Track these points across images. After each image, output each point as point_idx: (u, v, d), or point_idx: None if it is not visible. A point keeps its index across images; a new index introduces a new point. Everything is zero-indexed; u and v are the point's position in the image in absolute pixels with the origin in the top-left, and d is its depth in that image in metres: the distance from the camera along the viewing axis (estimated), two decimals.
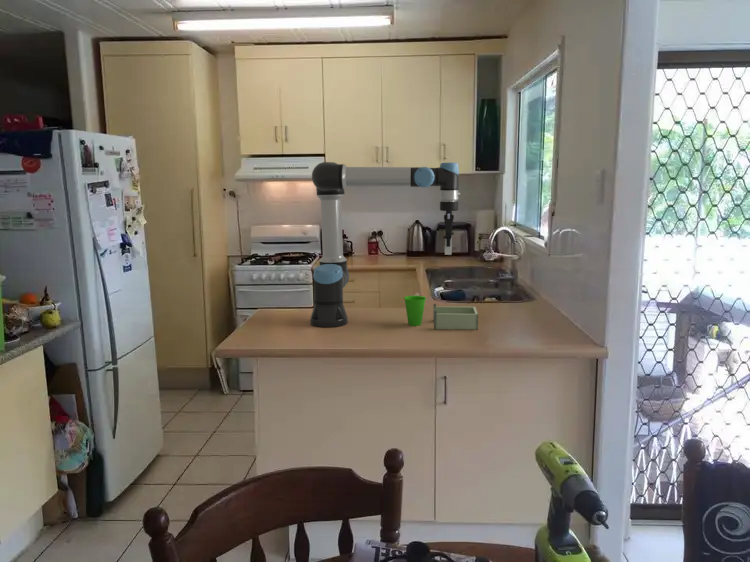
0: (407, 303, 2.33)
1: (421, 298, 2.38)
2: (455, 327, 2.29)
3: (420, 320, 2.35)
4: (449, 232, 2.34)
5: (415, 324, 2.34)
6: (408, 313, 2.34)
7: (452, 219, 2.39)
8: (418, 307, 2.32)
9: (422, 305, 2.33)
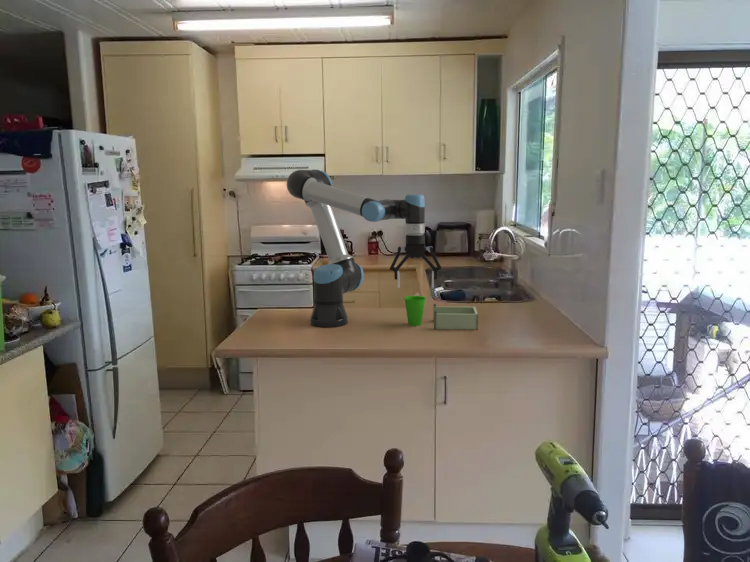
0: (407, 303, 2.33)
1: (421, 298, 2.38)
2: (455, 327, 2.29)
3: (420, 320, 2.35)
4: None
5: (415, 324, 2.34)
6: (408, 313, 2.34)
7: (407, 253, 2.31)
8: (418, 307, 2.32)
9: (422, 305, 2.33)
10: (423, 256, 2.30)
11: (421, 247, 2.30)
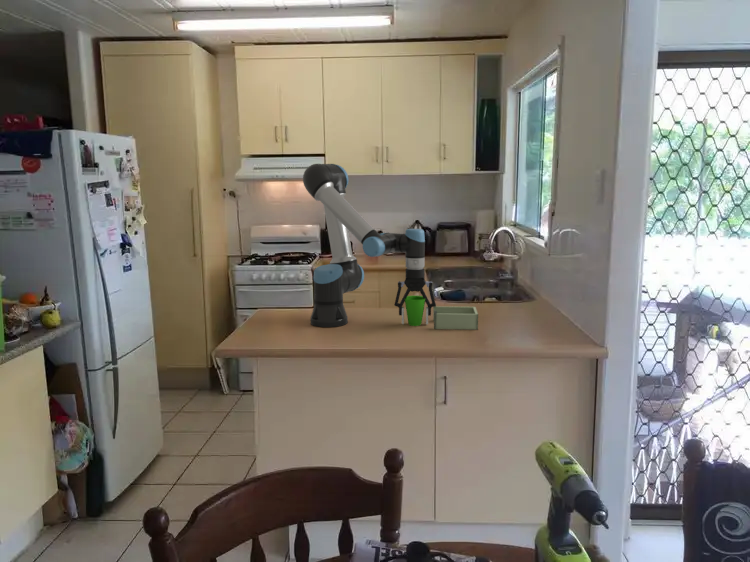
0: (407, 303, 2.33)
1: (421, 298, 2.38)
2: (455, 327, 2.29)
3: (420, 320, 2.35)
4: (395, 301, 2.35)
5: (415, 324, 2.34)
6: (408, 313, 2.34)
7: (408, 287, 2.33)
8: (418, 307, 2.32)
9: (422, 305, 2.33)
10: (421, 291, 2.33)
11: (421, 280, 2.32)
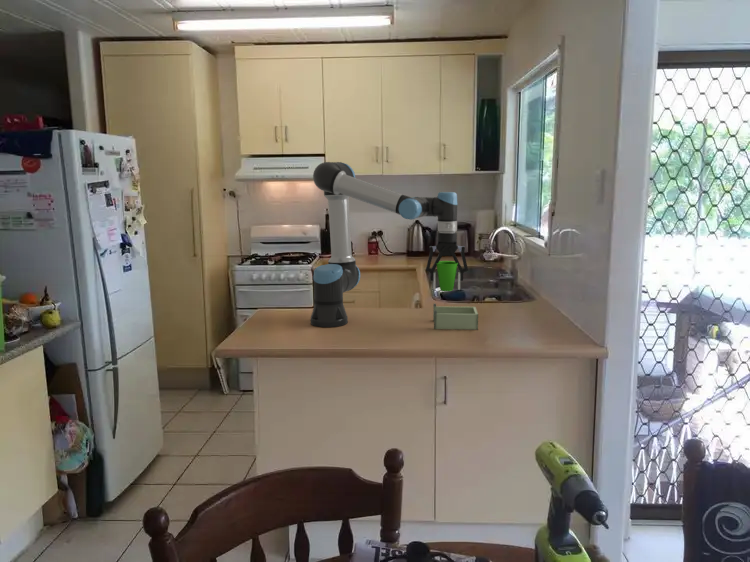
0: (439, 268, 2.29)
1: (453, 263, 2.34)
2: (455, 327, 2.29)
3: (452, 285, 2.31)
4: None
5: (447, 289, 2.31)
6: (440, 278, 2.31)
7: (440, 252, 2.29)
8: (451, 271, 2.29)
9: (454, 270, 2.29)
10: (453, 255, 2.29)
11: (453, 245, 2.29)
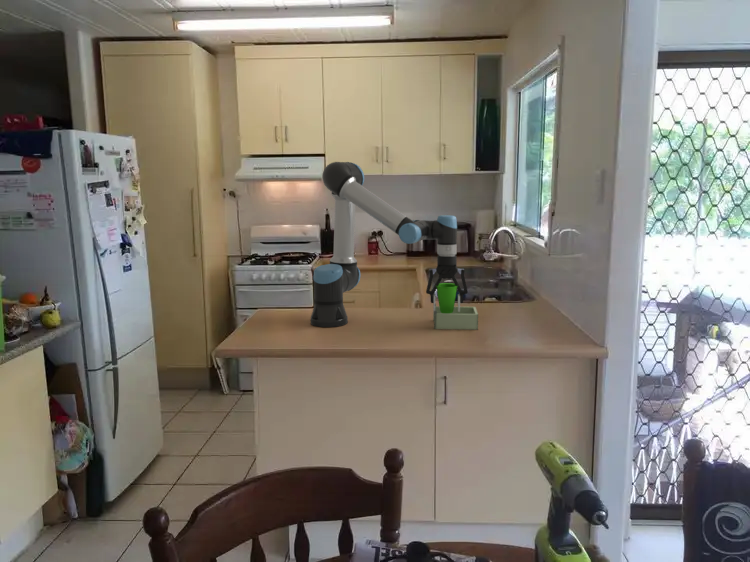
0: (439, 290, 2.31)
1: (452, 286, 2.36)
2: (455, 327, 2.29)
3: (452, 307, 2.33)
4: None
5: (447, 311, 2.32)
6: (440, 300, 2.32)
7: (440, 275, 2.31)
8: (451, 294, 2.30)
9: (454, 292, 2.31)
10: (453, 278, 2.31)
11: (453, 267, 2.31)
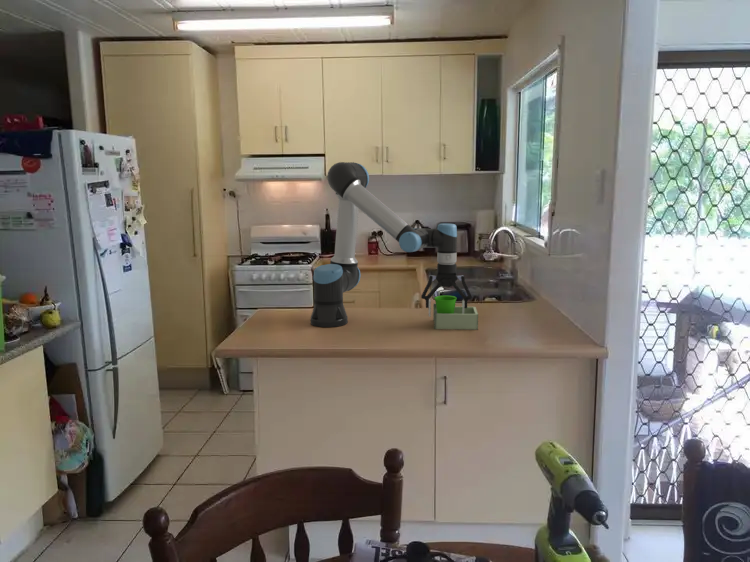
0: (438, 303, 2.32)
1: (451, 298, 2.37)
2: (455, 327, 2.29)
3: None
4: (422, 293, 2.34)
5: None
6: (439, 313, 2.33)
7: (439, 282, 2.32)
8: (450, 307, 2.31)
9: (453, 305, 2.32)
10: (454, 285, 2.31)
11: (453, 276, 2.31)
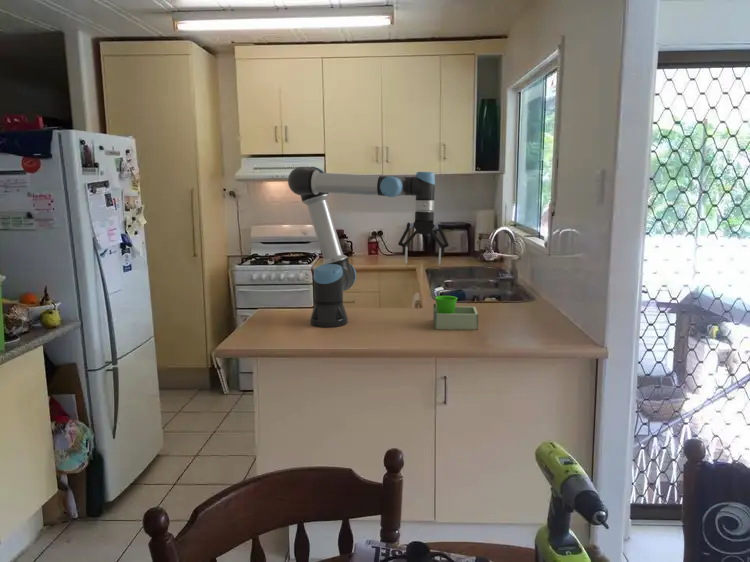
0: (438, 303, 2.32)
1: (452, 298, 2.37)
2: (455, 327, 2.29)
3: None
4: None
5: None
6: (439, 313, 2.33)
7: (416, 229, 2.35)
8: (450, 307, 2.31)
9: (453, 305, 2.32)
10: (431, 233, 2.35)
11: (430, 224, 2.35)
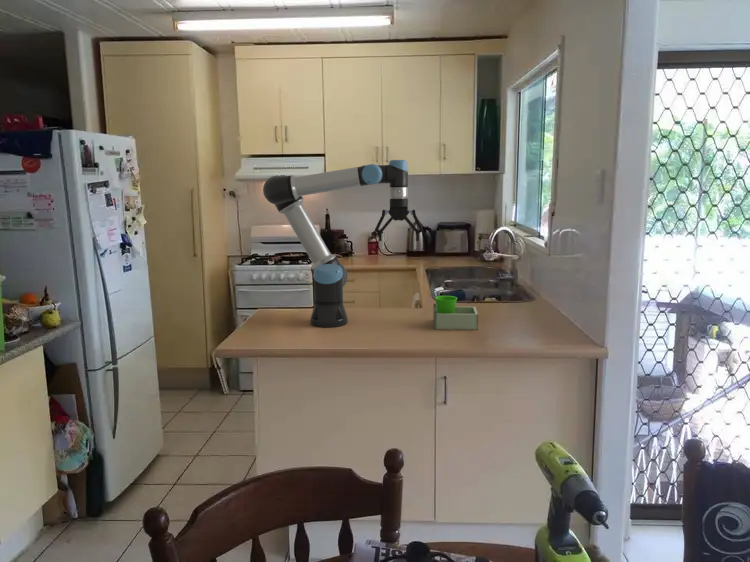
0: (438, 303, 2.32)
1: (452, 298, 2.37)
2: (455, 327, 2.29)
3: None
4: (376, 227, 2.46)
5: None
6: (439, 313, 2.33)
7: (391, 216, 2.43)
8: (450, 307, 2.31)
9: (453, 305, 2.32)
10: (406, 219, 2.43)
11: (404, 210, 2.43)
